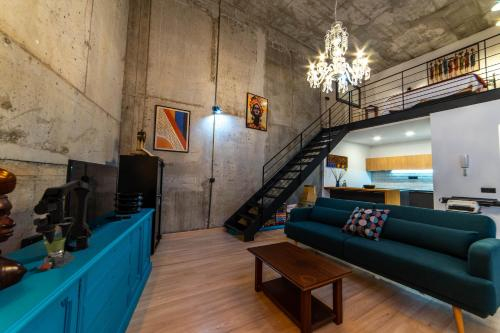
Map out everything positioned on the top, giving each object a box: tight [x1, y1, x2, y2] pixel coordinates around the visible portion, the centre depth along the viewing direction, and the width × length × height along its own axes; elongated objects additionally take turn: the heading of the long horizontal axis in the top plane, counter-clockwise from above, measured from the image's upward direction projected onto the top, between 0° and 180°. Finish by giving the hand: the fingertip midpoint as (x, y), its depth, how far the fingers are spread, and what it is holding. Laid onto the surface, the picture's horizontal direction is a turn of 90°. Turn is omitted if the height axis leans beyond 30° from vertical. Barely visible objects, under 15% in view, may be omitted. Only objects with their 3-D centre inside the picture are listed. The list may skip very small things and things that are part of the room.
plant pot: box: [43, 237, 67, 256], centre depth 115 cm, size 9×9×9 cm
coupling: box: [50, 249, 65, 258], centre depth 103 cm, size 5×5×5 cm
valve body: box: [37, 251, 75, 272], centre depth 103 cm, size 14×10×5 cm
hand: (57, 240), depth 104 cm, fingers open, 9 cm apart
